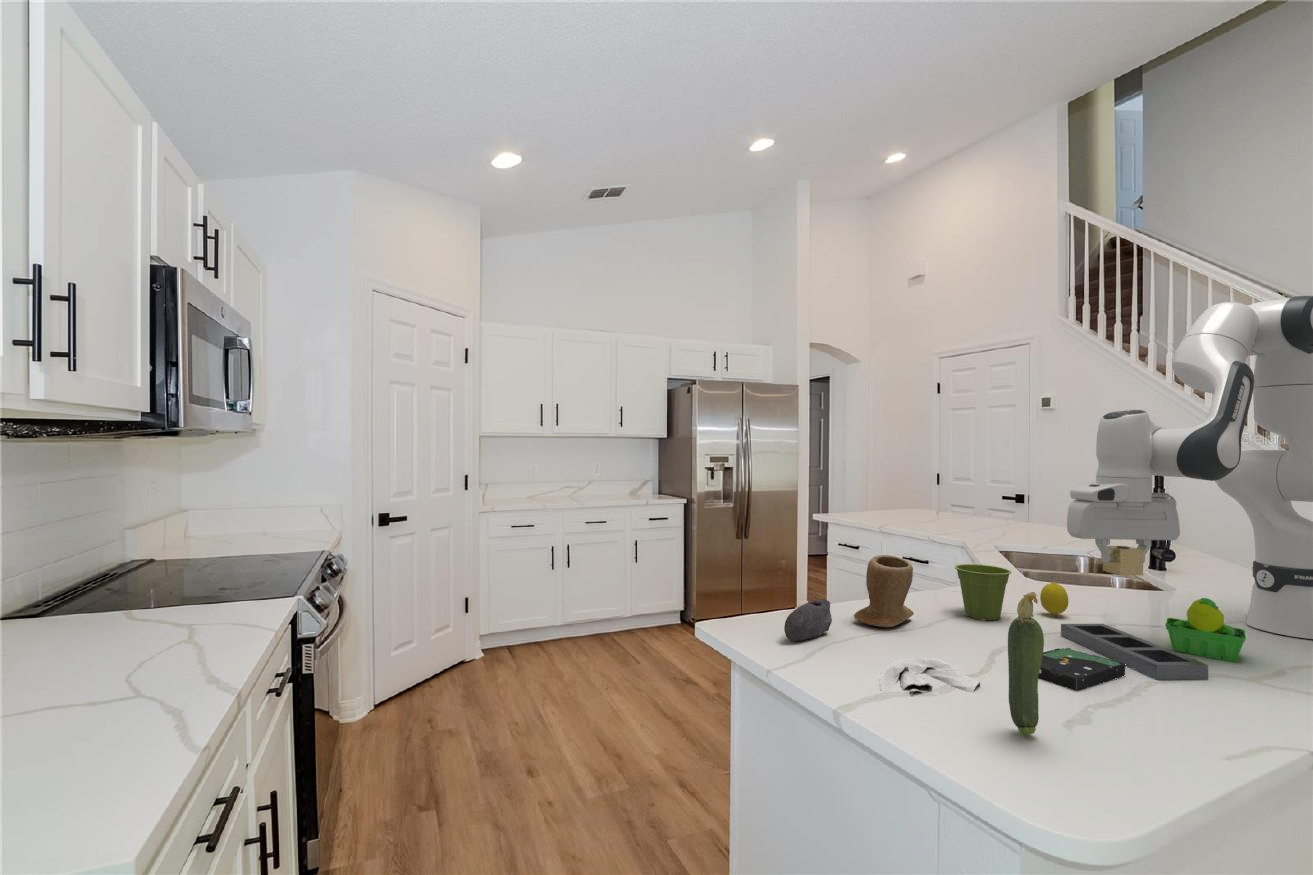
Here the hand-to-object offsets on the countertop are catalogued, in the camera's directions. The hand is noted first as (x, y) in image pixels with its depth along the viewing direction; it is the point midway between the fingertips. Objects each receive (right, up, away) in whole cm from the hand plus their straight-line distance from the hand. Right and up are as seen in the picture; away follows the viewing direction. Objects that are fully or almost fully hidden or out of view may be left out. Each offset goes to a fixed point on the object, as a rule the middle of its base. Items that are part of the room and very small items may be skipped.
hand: (1122, 562), depth 121 cm
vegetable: (-40, -17, -35) cm, 56 cm away
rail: (-2, -17, -4) cm, 18 cm away
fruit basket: (+14, -17, -3) cm, 22 cm away
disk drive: (-19, -18, -13) cm, 29 cm away
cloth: (-46, -18, -16) cm, 52 cm away
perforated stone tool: (-60, -18, +7) cm, 63 cm away
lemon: (+1, -18, +23) cm, 29 cm away
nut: (0, -2, 0) cm, 2 cm away
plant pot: (-16, -18, +22) cm, 32 cm away
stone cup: (-40, -18, +18) cm, 47 cm away
